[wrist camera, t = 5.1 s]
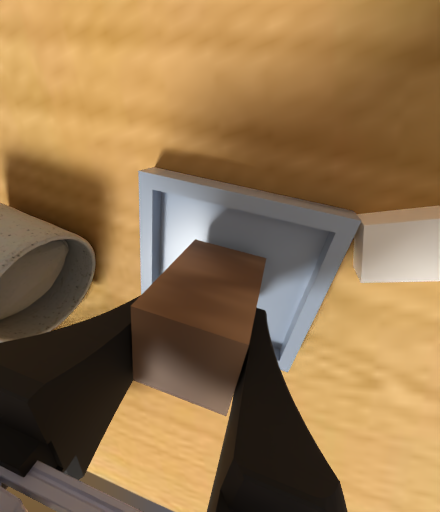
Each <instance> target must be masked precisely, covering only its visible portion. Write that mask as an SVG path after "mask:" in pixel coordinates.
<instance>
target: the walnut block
mask: <svg viewBox="0 0 440 512" xmlns="http://www.w3.org/2000/svg"><path fill="white" fill-rule="evenodd" d="M265 263H266V258H264V257H260V256H256V255H252V254H249V253H245V252H241V251H237V250H234V249H230V248H226V247H222V246H219V245H215V244H211V243H207V242H203V241H200V240H196V239H195V240H194V241H193V242H192V243H191V244H190V245H189V246H188V247H187V248H186V249H185V250H184V251H183V252H182V254H181V255H180V256H179V257H178V258H177V259H176V260H175V261H174V262H173V263H172V264H171V265H170V266H169V267H168V268H167V269H166V270H165V271H164V272H163V273H162V274H161V275H160V276H159V277H158V278H157V279H156V280H155V281H154V282H153V283H152V284H151V285H150V287H149V288H148V289H147V290H146V291H145V292H144V293H143V294H142V295H141V296H140V297H139V298H138V299H137V300H136V301H135V302H134V303H133V304H132V305H131V330H132V359H133V380H134V381H137V382H139V383H142V384H144V385H147V386H150V387H152V388H155V389H157V390H160V391H162V392H165V393H168V394H170V395H173V396H175V397H178V398H181V399H183V400H186V401H188V402H191V403H193V404H196V405H199V406H201V407H204V408H206V409H209V410H211V411H214V412H217V413H219V414H222V415H224V416H227V413H228V409H229V406H230V403H231V400H232V397H233V394H234V391H235V387H236V384H237V381H238V378H239V375H240V372H241V368H242V365H243V362H244V359H245V356H246V353H247V350H248V346H249V342H250V337H251V332H252V327H253V322H254V317H255V312H256V307H257V303H258V298H259V293H260V288H261V283H262V278H263V273H264V268H265Z"/></svg>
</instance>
